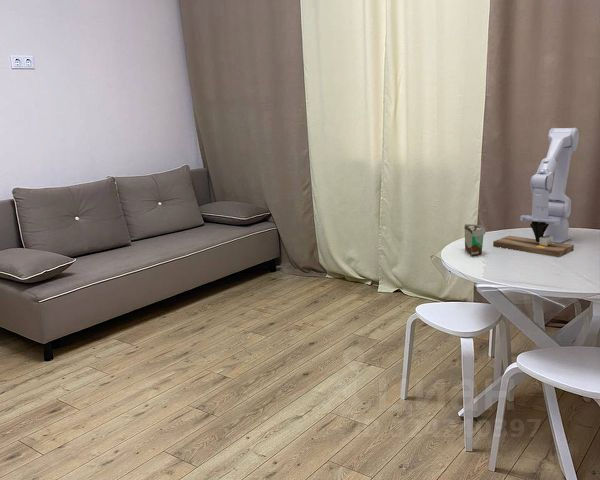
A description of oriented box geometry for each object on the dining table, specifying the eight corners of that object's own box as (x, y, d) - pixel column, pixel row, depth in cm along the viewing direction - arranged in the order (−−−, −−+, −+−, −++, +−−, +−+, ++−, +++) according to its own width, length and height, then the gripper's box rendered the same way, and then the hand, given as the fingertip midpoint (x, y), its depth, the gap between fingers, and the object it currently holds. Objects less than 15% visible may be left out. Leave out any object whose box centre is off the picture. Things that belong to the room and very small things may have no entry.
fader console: (509, 240, 241) (509, 235, 240) (573, 250, 222) (573, 244, 221) (493, 246, 233) (493, 241, 233) (558, 257, 214) (558, 251, 214)
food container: (489, 256, 219) (489, 230, 217) (472, 257, 220) (472, 231, 217) (480, 248, 231) (480, 223, 229) (464, 249, 232) (464, 224, 229)
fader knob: (544, 242, 226) (545, 234, 225) (552, 243, 223) (553, 235, 223) (539, 244, 223) (539, 237, 222) (547, 245, 221) (547, 238, 220)
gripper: (516, 205, 225) (515, 240, 228) (554, 209, 214) (552, 246, 217) (526, 203, 229) (524, 237, 232) (563, 206, 219) (561, 242, 222)
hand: (538, 241), depth 225 cm, fingers closed
